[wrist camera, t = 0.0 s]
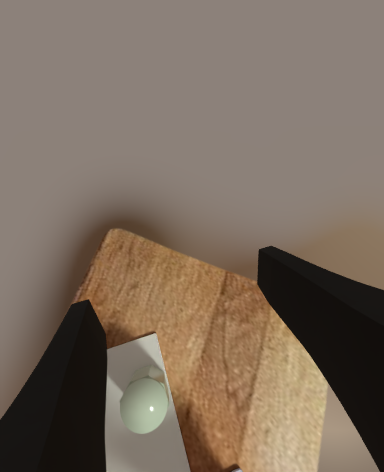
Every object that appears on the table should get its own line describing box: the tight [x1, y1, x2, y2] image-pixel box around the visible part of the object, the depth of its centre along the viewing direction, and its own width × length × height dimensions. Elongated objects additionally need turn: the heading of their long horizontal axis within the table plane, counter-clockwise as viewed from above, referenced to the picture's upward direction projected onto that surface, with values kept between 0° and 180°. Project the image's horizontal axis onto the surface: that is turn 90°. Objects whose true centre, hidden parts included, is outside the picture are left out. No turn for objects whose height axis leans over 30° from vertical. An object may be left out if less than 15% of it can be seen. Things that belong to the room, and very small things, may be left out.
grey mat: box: [105, 333, 191, 472], centre depth 34 cm, size 20×18×1 cm
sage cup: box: [120, 365, 169, 434], centre depth 32 cm, size 6×6×8 cm
